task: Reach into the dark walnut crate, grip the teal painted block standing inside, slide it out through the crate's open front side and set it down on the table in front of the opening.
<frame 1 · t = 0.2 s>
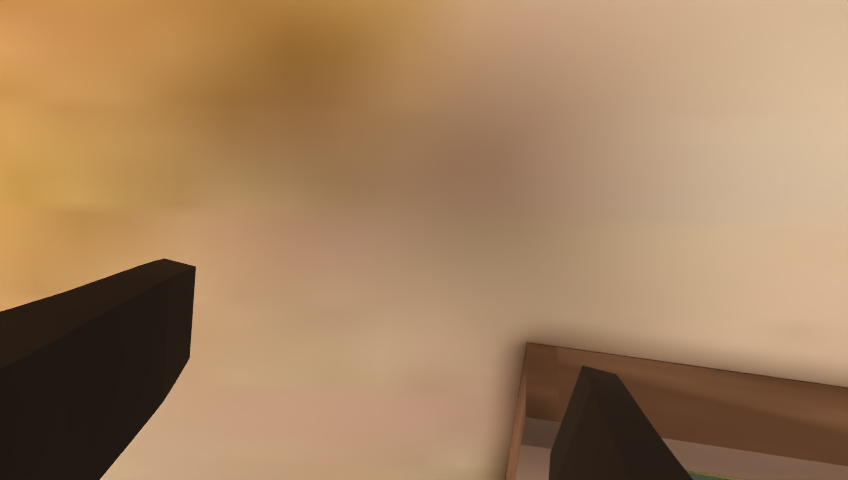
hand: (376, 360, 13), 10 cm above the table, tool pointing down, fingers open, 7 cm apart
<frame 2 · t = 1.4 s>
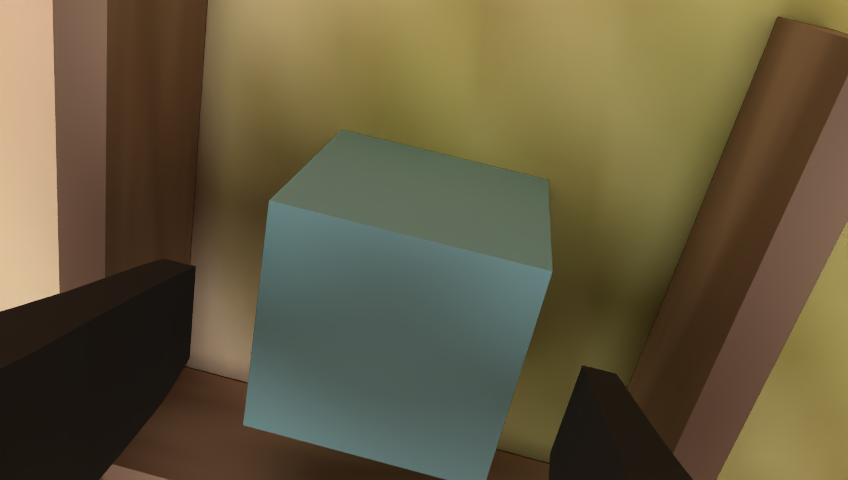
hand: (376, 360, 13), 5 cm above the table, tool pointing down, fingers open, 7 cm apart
walnut crate: (422, 248, 17), on the table
teal block: (406, 292, 15), in the walnut crate
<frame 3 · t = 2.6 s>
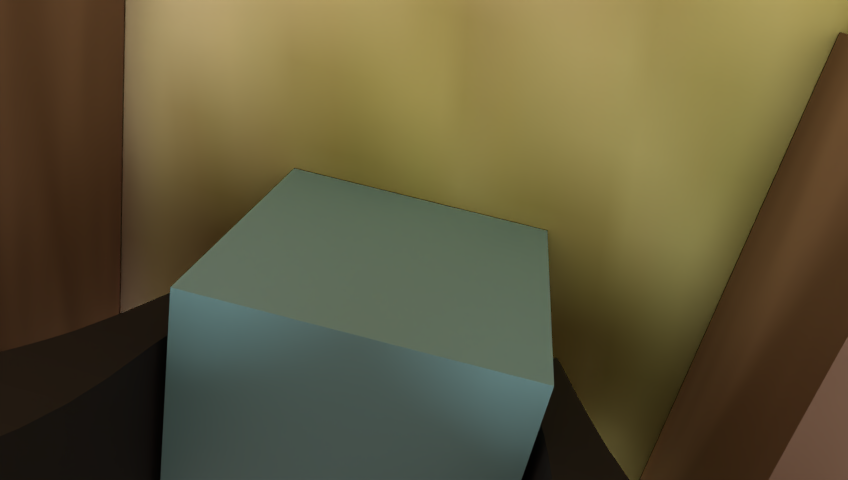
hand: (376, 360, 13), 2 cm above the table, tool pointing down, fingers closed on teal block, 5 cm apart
walnut crate: (395, 309, 14), on the table
teal block: (369, 379, 12), in the walnut crate, touching gripper
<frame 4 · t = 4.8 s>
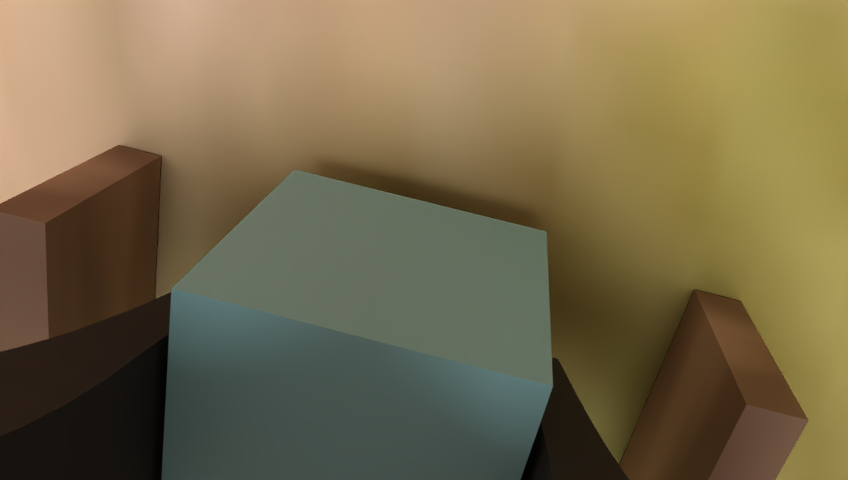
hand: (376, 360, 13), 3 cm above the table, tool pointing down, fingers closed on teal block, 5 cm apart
walnut crate: (368, 462, 18), on the table
teal block: (369, 379, 12), point 4 cm above the table, touching gripper
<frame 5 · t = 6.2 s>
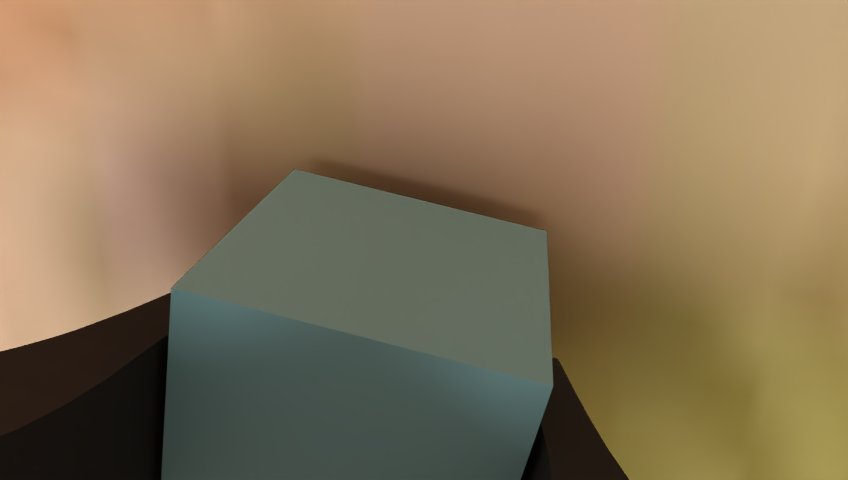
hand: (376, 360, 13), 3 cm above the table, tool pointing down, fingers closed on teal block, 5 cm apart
teal block: (369, 379, 12), point 4 cm above the table, touching gripper
when the fingers open (3 cm above the table, at t = 7.3 s): teal block stays where it is, on the table.
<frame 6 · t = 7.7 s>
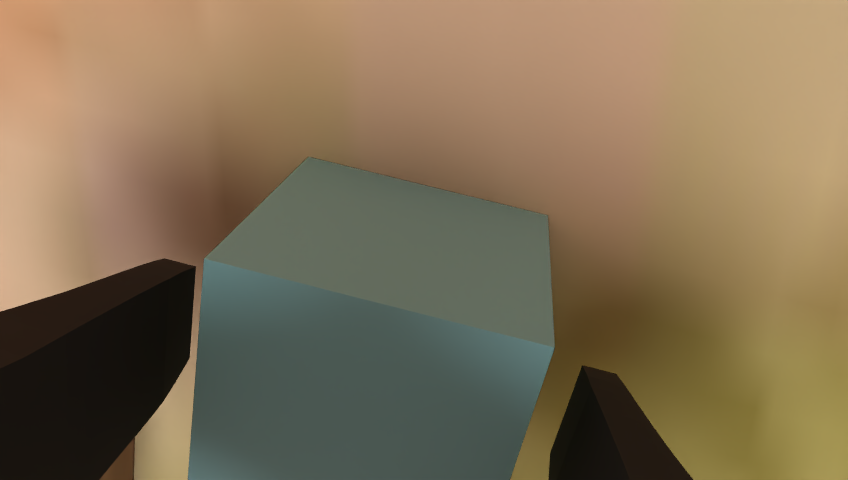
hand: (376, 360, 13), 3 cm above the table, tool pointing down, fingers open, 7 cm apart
teal block: (381, 351, 13), on the table
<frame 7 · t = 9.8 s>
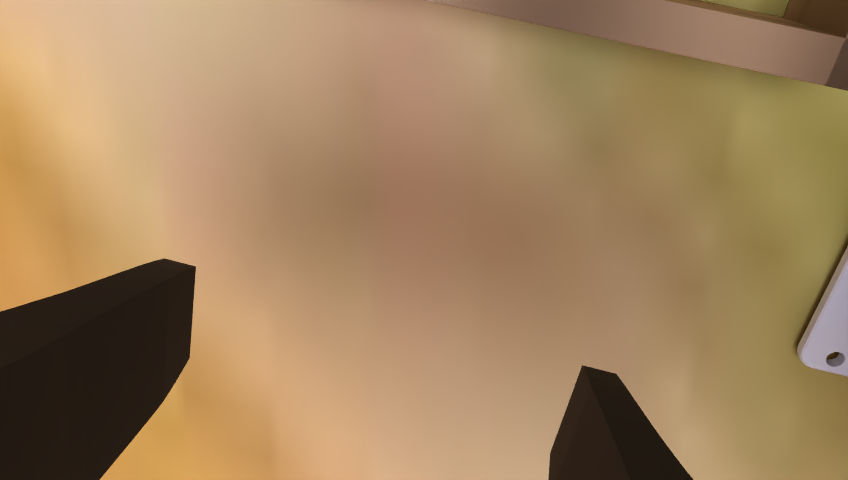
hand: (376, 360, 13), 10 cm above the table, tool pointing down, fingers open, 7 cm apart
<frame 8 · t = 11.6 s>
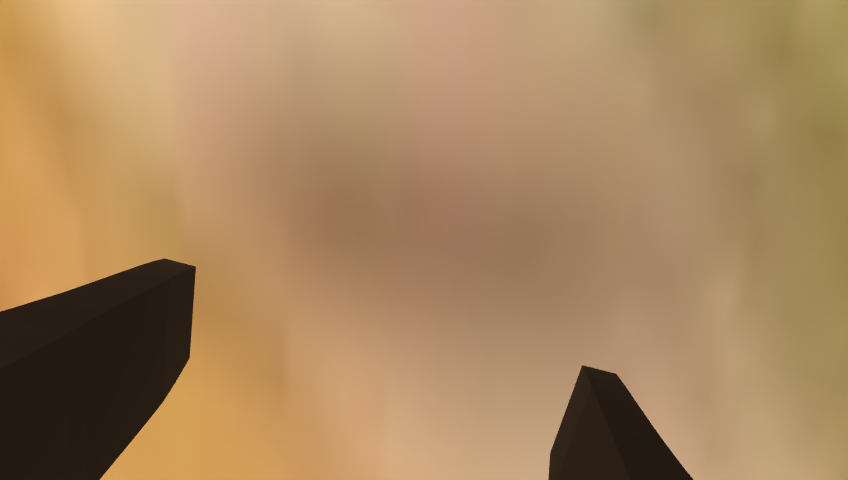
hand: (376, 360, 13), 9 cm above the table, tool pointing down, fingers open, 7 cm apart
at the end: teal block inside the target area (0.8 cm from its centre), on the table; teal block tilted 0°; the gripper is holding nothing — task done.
